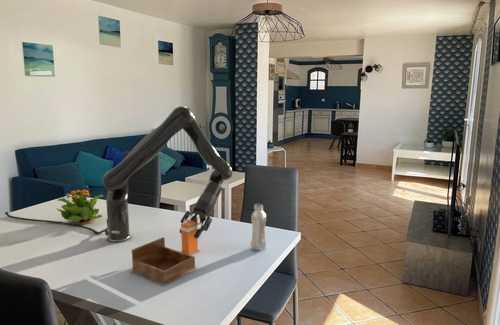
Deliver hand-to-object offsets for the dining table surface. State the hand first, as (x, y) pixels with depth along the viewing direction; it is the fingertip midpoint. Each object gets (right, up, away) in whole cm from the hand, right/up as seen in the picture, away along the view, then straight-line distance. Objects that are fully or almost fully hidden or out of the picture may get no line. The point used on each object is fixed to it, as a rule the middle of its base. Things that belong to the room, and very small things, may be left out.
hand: (188, 235), depth 159 cm
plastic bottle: (+30, -7, +6) cm, 31 cm away
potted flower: (-62, -1, +40) cm, 74 cm away
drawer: (-7, -10, -15) cm, 19 cm away
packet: (0, -7, +2) cm, 8 cm away
